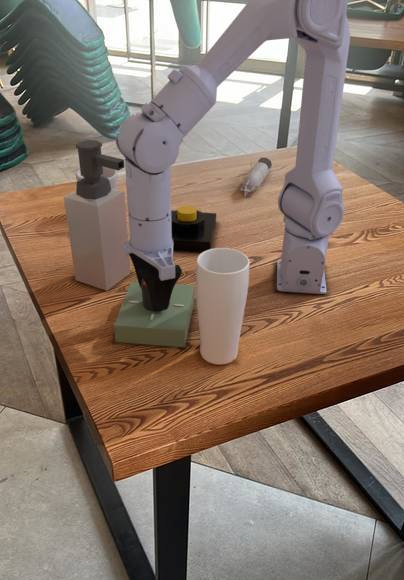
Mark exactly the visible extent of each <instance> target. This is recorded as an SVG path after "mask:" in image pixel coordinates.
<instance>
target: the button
mask: <svg viewBox="0 0 404 580" xmlns="http://www.w3.org/2000/svg"><path fill="white" fill-rule="evenodd" d="M176 210H177V219H178V220H180V221H188V222H189V221H194V220H196V219H197V211H198V209H197V208H196V207H195V206H193V205H180V206H179V207H177V208H176Z"/></svg>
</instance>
